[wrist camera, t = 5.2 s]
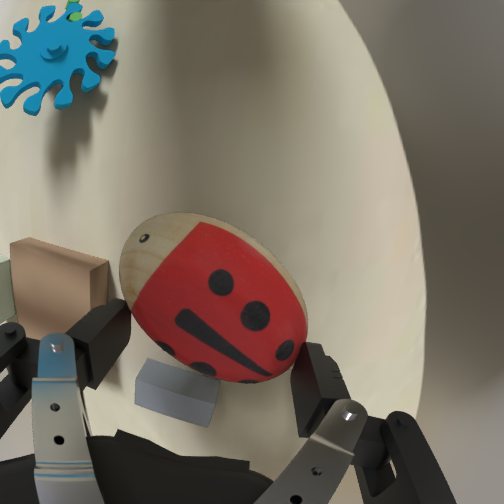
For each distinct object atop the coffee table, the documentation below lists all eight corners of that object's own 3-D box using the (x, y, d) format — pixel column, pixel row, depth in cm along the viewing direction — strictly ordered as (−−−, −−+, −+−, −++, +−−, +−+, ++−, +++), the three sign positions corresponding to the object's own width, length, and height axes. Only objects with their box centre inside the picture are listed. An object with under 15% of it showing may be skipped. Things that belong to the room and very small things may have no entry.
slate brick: (145, 381, 20) (134, 403, 17) (148, 356, 19) (135, 378, 16) (212, 402, 20) (207, 427, 17) (220, 378, 20) (215, 404, 17)
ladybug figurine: (172, 175, 11) (140, 176, 8) (340, 298, 13) (364, 336, 9) (109, 285, 13) (74, 316, 9) (258, 381, 14) (259, 428, 11)
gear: (98, 115, 13) (-33, 108, 6) (83, 138, 18) (-19, 133, 11) (138, 2, 12) (32, -14, 5) (113, 37, 17) (25, 25, 9)
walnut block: (32, 236, 17) (9, 243, 15) (111, 259, 18) (89, 271, 15) (41, 333, 20) (24, 347, 17) (112, 365, 20) (98, 385, 17)
